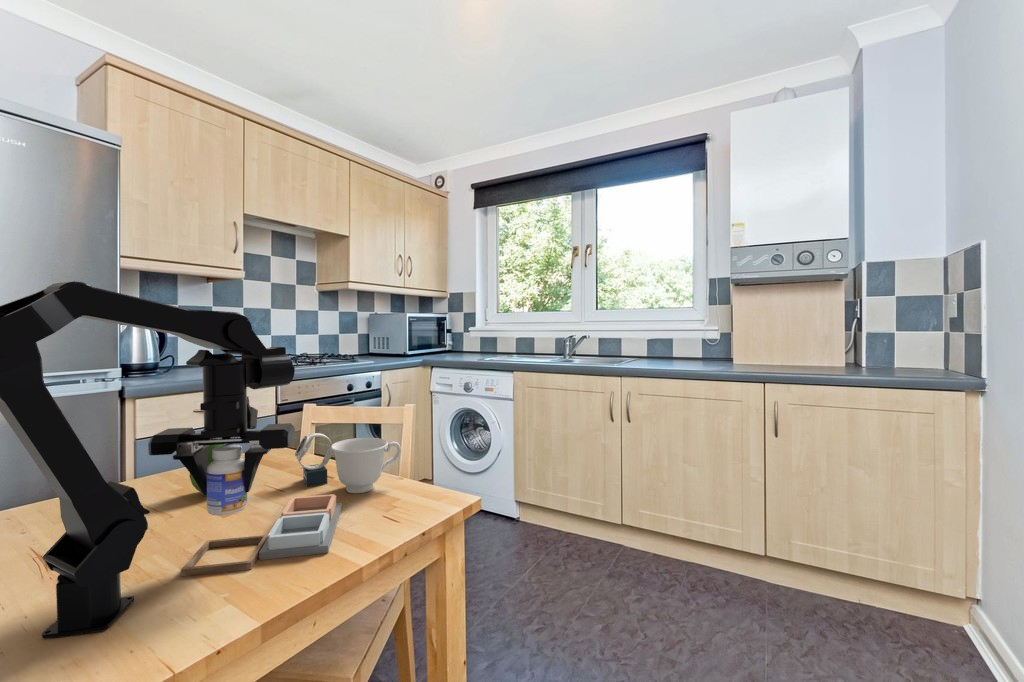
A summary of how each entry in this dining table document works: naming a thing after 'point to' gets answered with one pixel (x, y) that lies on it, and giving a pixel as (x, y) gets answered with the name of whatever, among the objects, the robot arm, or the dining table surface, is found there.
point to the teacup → (361, 461)
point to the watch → (313, 472)
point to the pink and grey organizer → (303, 527)
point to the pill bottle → (226, 481)
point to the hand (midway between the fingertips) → (227, 493)
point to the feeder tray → (224, 567)
